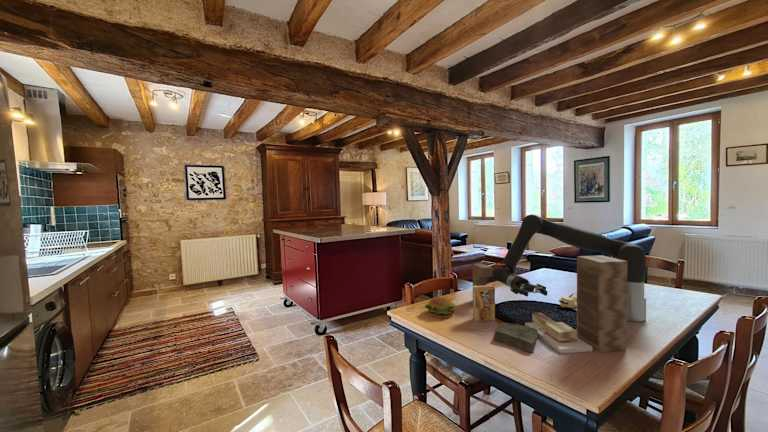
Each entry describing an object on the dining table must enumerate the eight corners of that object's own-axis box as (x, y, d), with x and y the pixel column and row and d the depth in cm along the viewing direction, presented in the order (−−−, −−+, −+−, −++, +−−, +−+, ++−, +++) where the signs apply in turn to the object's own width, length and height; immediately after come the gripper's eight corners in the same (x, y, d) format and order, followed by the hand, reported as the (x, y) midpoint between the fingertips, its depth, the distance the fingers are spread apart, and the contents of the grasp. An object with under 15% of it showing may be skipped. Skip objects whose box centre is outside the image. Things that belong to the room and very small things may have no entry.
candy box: (491, 317, 147) (491, 284, 146) (495, 320, 143) (495, 287, 142) (473, 318, 147) (472, 285, 146) (476, 321, 142) (475, 287, 142)
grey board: (551, 324, 137) (551, 321, 137) (592, 351, 113) (592, 346, 113) (524, 326, 136) (524, 322, 136) (560, 353, 112) (560, 348, 112)
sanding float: (544, 320, 138) (544, 311, 138) (577, 341, 117) (577, 331, 117) (528, 321, 137) (528, 312, 137) (559, 342, 116) (559, 332, 116)
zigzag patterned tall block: (600, 335, 125) (601, 255, 123) (626, 350, 113) (627, 261, 111) (576, 337, 124) (576, 256, 122) (599, 352, 112) (600, 262, 110)
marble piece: (533, 354, 112) (533, 343, 112) (490, 345, 120) (490, 334, 120) (540, 336, 126) (540, 326, 126) (501, 329, 134) (501, 319, 134)
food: (440, 307, 163) (439, 291, 163) (460, 314, 151) (460, 298, 151) (419, 312, 155) (419, 296, 155) (439, 321, 144) (439, 304, 143)
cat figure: (590, 302, 168) (552, 303, 161) (591, 285, 168) (553, 286, 161) (608, 308, 159) (568, 310, 152) (609, 290, 158) (570, 292, 151)
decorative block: (493, 305, 162) (492, 267, 161) (483, 306, 161) (482, 268, 160) (482, 299, 173) (481, 263, 172) (472, 300, 172) (472, 263, 171)
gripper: (503, 276, 152) (521, 285, 135) (532, 275, 153) (552, 284, 137) (503, 292, 152) (521, 303, 136) (532, 290, 153) (552, 301, 137)
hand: (536, 293), depth 136 cm, fingers open, 8 cm apart
